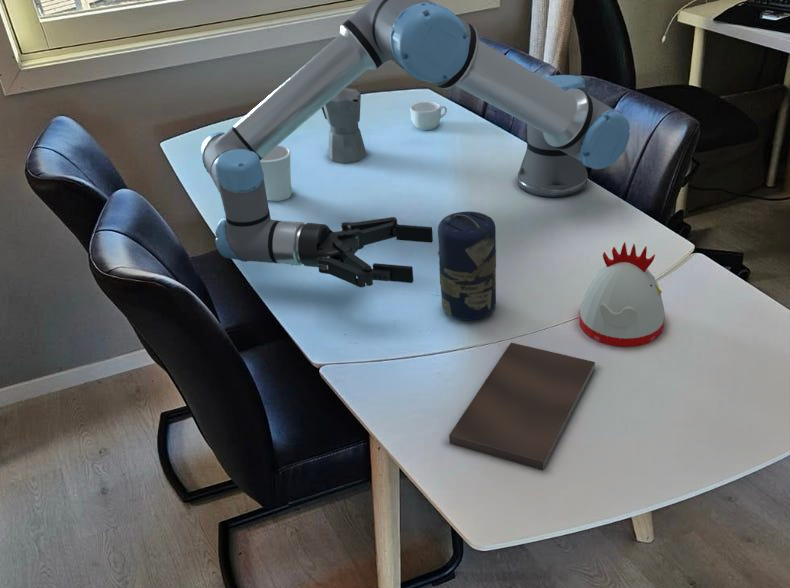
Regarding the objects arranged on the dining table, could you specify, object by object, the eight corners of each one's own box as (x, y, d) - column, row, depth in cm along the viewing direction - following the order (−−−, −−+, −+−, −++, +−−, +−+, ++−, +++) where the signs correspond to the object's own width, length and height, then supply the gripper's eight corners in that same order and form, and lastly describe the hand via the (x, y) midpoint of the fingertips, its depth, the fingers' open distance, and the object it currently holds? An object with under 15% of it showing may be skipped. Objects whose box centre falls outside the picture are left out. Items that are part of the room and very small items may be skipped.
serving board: (510, 349, 136) (510, 342, 135) (594, 369, 131) (595, 361, 130) (449, 443, 118) (448, 435, 117) (543, 469, 113) (543, 461, 112)
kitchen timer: (655, 353, 133) (667, 272, 124) (571, 338, 137) (576, 259, 129) (668, 307, 144) (679, 229, 135) (589, 294, 148) (595, 218, 139)
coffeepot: (380, 156, 200) (373, 82, 189) (349, 169, 195) (340, 93, 184) (340, 140, 209) (331, 68, 199) (309, 152, 204) (299, 78, 193)
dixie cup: (293, 184, 189) (287, 142, 183) (300, 199, 183) (293, 156, 177) (256, 190, 187) (248, 148, 181) (262, 206, 181) (254, 163, 175)
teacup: (420, 135, 210) (418, 114, 207) (406, 125, 216) (404, 105, 212) (454, 126, 214) (453, 106, 211) (440, 117, 219) (439, 97, 216)
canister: (457, 330, 140) (453, 235, 130) (432, 303, 147) (426, 211, 137) (506, 314, 144) (506, 220, 133) (479, 288, 151) (477, 198, 140)
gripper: (330, 229, 157) (440, 238, 153) (280, 301, 138) (404, 313, 134) (325, 193, 153) (438, 201, 149) (273, 261, 133) (401, 272, 129)
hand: (422, 254), depth 141 cm, fingers open, 13 cm apart
